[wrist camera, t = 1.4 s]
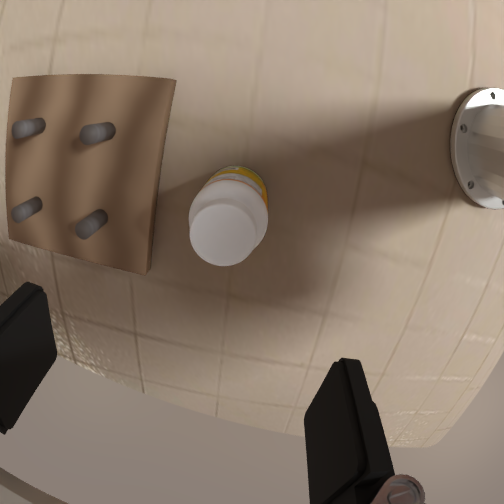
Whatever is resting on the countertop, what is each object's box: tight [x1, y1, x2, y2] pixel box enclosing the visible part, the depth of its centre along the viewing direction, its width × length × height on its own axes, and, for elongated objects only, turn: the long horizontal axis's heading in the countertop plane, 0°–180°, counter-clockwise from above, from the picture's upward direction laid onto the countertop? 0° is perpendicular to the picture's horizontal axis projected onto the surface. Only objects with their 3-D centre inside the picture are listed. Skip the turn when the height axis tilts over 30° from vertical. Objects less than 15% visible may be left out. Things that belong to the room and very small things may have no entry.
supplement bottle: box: [189, 166, 268, 266], centre depth 23 cm, size 5×5×10 cm
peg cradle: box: [6, 74, 176, 276], centre depth 24 cm, size 18×18×5 cm
